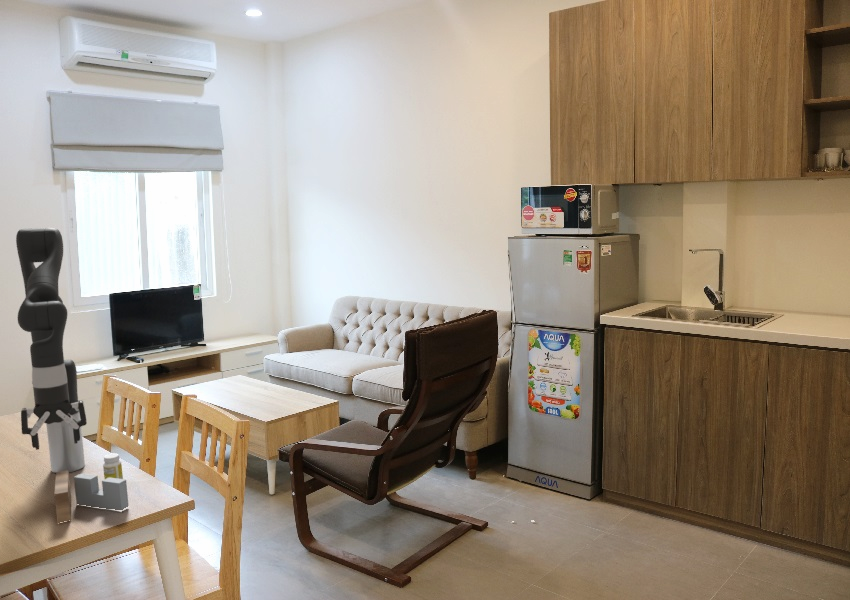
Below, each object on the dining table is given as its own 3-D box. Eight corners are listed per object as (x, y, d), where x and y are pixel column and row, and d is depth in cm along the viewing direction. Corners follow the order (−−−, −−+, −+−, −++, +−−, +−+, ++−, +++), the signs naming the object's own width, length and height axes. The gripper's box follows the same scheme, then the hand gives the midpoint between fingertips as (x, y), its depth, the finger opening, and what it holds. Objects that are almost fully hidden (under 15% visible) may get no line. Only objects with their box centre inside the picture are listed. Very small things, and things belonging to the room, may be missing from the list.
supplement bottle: (118, 479, 209) (115, 451, 208) (126, 482, 206) (123, 454, 205) (101, 484, 205) (99, 456, 204) (110, 488, 202) (107, 459, 201)
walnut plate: (59, 500, 195) (56, 472, 194) (71, 498, 197) (68, 470, 195) (57, 524, 181) (54, 494, 180) (70, 521, 182) (67, 491, 181)
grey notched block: (76, 505, 192) (73, 476, 190) (83, 501, 194) (81, 473, 193) (121, 512, 187) (119, 483, 185) (128, 508, 189) (126, 479, 188)
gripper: (82, 375, 183) (88, 436, 185) (18, 382, 177) (25, 446, 179) (82, 382, 176) (88, 445, 179) (15, 390, 170) (23, 455, 172)
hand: (56, 445), depth 179 cm, fingers open, 8 cm apart
